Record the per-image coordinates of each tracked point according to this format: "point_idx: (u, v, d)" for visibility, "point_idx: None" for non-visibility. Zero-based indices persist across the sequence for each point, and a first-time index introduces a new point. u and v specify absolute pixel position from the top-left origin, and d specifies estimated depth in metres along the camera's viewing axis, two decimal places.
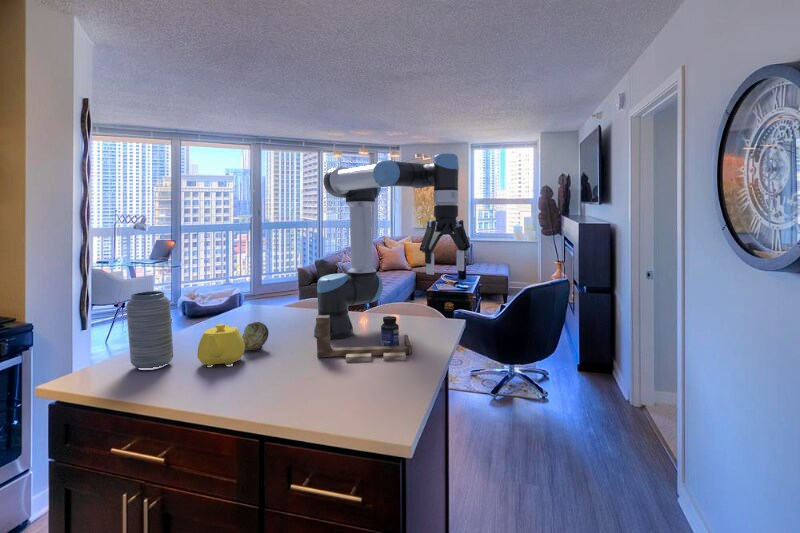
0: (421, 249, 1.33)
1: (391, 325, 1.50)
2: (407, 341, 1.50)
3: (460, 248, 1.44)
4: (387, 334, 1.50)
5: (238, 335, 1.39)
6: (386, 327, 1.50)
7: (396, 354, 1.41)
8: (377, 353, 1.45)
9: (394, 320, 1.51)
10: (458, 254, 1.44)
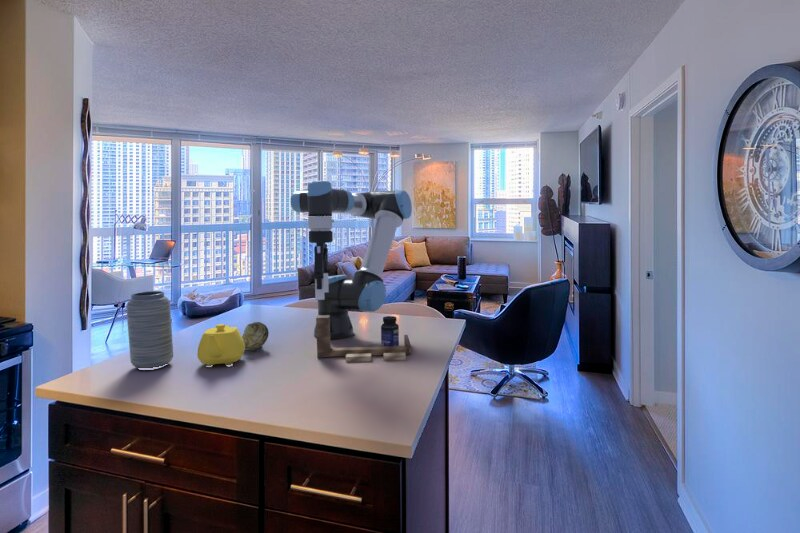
0: (316, 275, 1.32)
1: (391, 325, 1.50)
2: (407, 341, 1.50)
3: (323, 271, 1.49)
4: (387, 334, 1.50)
5: (238, 335, 1.39)
6: (386, 327, 1.50)
7: (396, 354, 1.41)
8: (377, 353, 1.45)
9: (394, 320, 1.51)
10: (322, 276, 1.49)
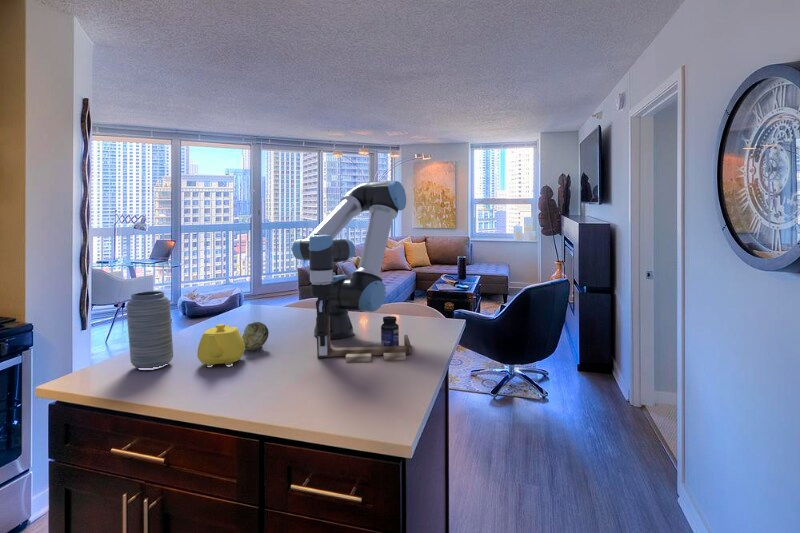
0: (320, 334, 1.39)
1: (391, 325, 1.50)
2: (407, 341, 1.50)
3: None
4: (387, 334, 1.50)
5: (238, 335, 1.39)
6: (386, 327, 1.50)
7: (396, 354, 1.41)
8: (377, 353, 1.45)
9: (394, 320, 1.51)
10: None
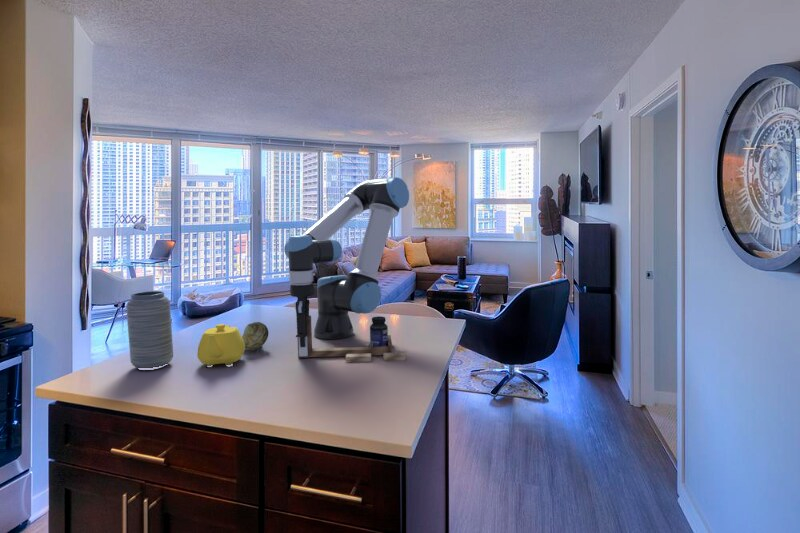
0: (299, 335, 1.38)
1: (380, 326, 1.50)
2: (389, 342, 1.49)
3: None
4: (376, 334, 1.49)
5: (238, 335, 1.39)
6: (375, 328, 1.49)
7: (396, 354, 1.41)
8: None
9: (383, 320, 1.50)
10: None
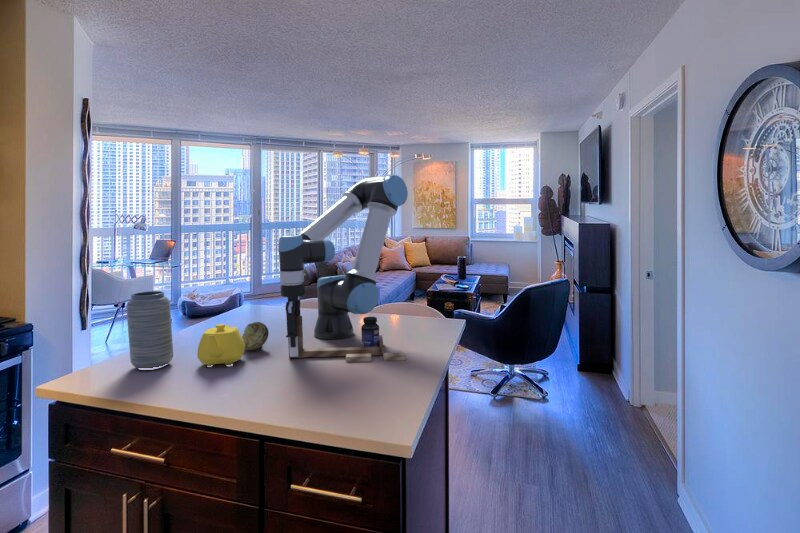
0: (290, 335, 1.38)
1: (371, 326, 1.49)
2: (381, 342, 1.49)
3: None
4: (367, 334, 1.49)
5: (238, 335, 1.39)
6: (367, 328, 1.49)
7: (396, 354, 1.41)
8: None
9: (374, 320, 1.50)
10: None
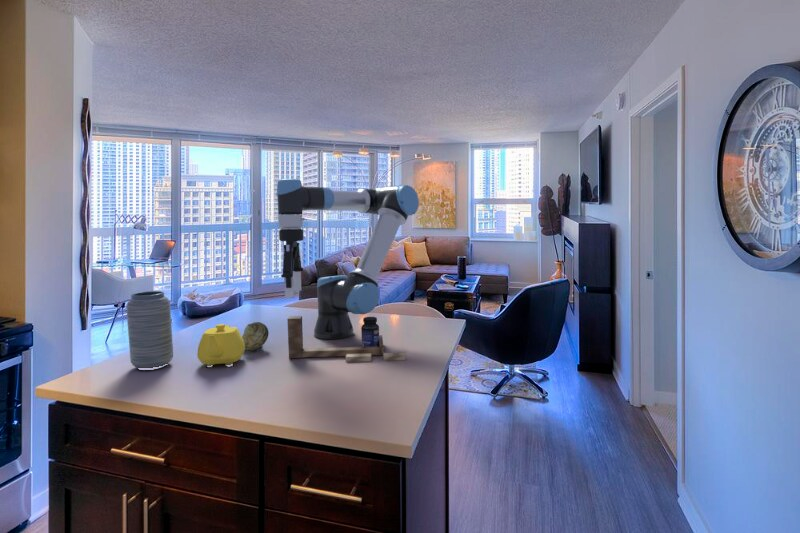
0: (285, 274, 1.32)
1: (371, 326, 1.49)
2: (381, 342, 1.49)
3: (295, 269, 1.49)
4: (367, 334, 1.49)
5: (238, 335, 1.39)
6: (367, 328, 1.49)
7: (396, 354, 1.41)
8: None
9: (374, 321, 1.50)
10: (294, 275, 1.48)
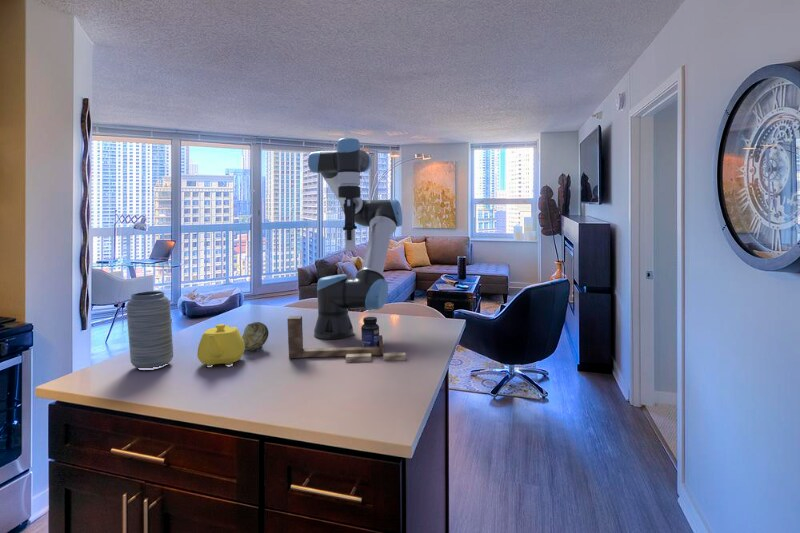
0: (347, 226, 1.40)
1: (371, 326, 1.49)
2: (381, 342, 1.49)
3: None
4: (367, 334, 1.49)
5: (238, 335, 1.39)
6: (367, 328, 1.49)
7: (396, 354, 1.41)
8: None
9: (374, 321, 1.50)
10: None
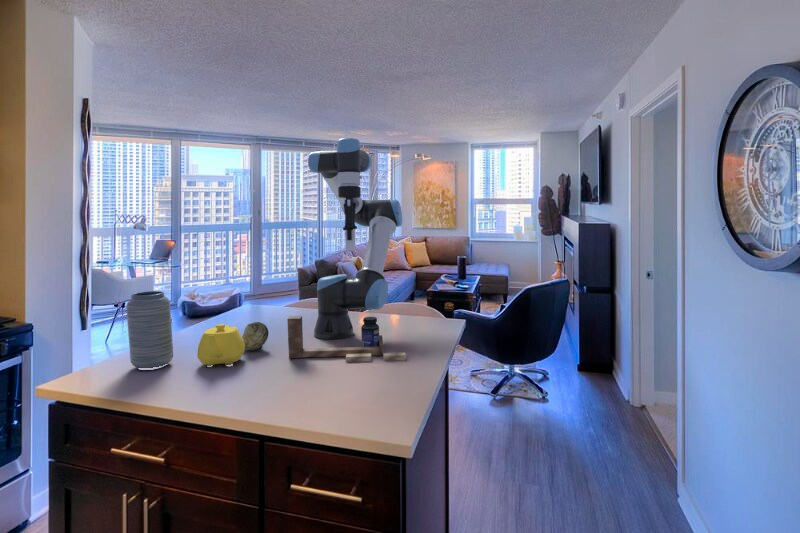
0: (347, 226, 1.40)
1: (371, 326, 1.49)
2: (381, 342, 1.49)
3: None
4: (367, 334, 1.49)
5: (238, 335, 1.39)
6: (367, 328, 1.49)
7: (396, 354, 1.41)
8: None
9: (374, 321, 1.50)
10: None
